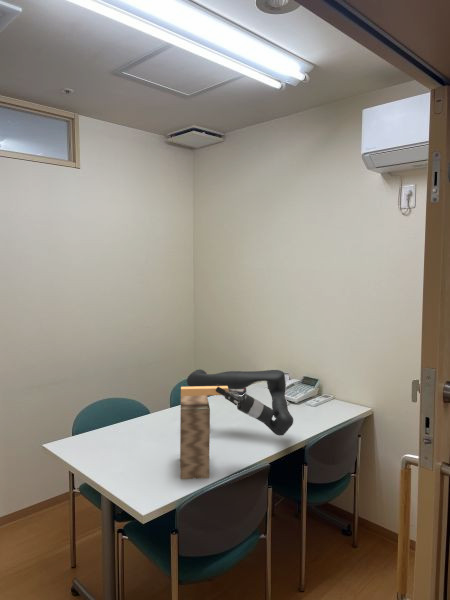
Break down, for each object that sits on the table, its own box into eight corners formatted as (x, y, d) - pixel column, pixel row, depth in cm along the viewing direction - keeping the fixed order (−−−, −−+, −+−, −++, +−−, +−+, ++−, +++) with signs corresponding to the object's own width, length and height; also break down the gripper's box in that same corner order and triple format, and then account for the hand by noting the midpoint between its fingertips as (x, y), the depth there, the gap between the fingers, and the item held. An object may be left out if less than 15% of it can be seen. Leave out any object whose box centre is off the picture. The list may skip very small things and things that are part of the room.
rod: (180, 396, 187) (181, 389, 187) (180, 393, 190) (180, 386, 190) (228, 395, 189) (228, 388, 189) (227, 392, 192) (227, 385, 192)
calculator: (243, 391, 303) (221, 388, 307) (242, 397, 303) (221, 394, 307) (246, 386, 314) (226, 384, 317) (246, 392, 314) (225, 389, 318)
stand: (180, 479, 187) (181, 409, 184) (180, 458, 206) (180, 394, 204) (209, 478, 188) (209, 408, 185) (206, 457, 208) (206, 394, 205)
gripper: (252, 394, 199) (219, 375, 197) (257, 404, 185) (222, 384, 183) (243, 408, 199) (210, 390, 197) (248, 419, 185) (213, 400, 183)
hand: (216, 387), depth 190 cm, fingers closed on rod, 3 cm apart
